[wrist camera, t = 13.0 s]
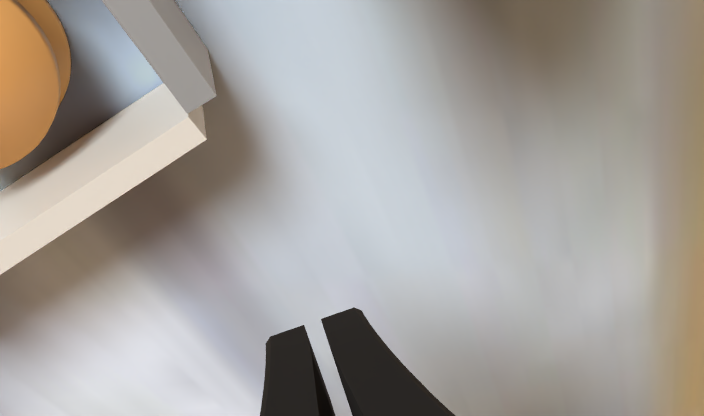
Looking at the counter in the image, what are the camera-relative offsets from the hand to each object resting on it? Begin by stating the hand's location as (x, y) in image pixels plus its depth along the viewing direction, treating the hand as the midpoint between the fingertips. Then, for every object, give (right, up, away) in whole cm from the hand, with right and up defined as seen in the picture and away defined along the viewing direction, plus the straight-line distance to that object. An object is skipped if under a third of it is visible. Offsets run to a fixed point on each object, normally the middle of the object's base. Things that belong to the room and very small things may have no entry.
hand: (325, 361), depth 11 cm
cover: (-9, +4, +7) cm, 12 cm away
